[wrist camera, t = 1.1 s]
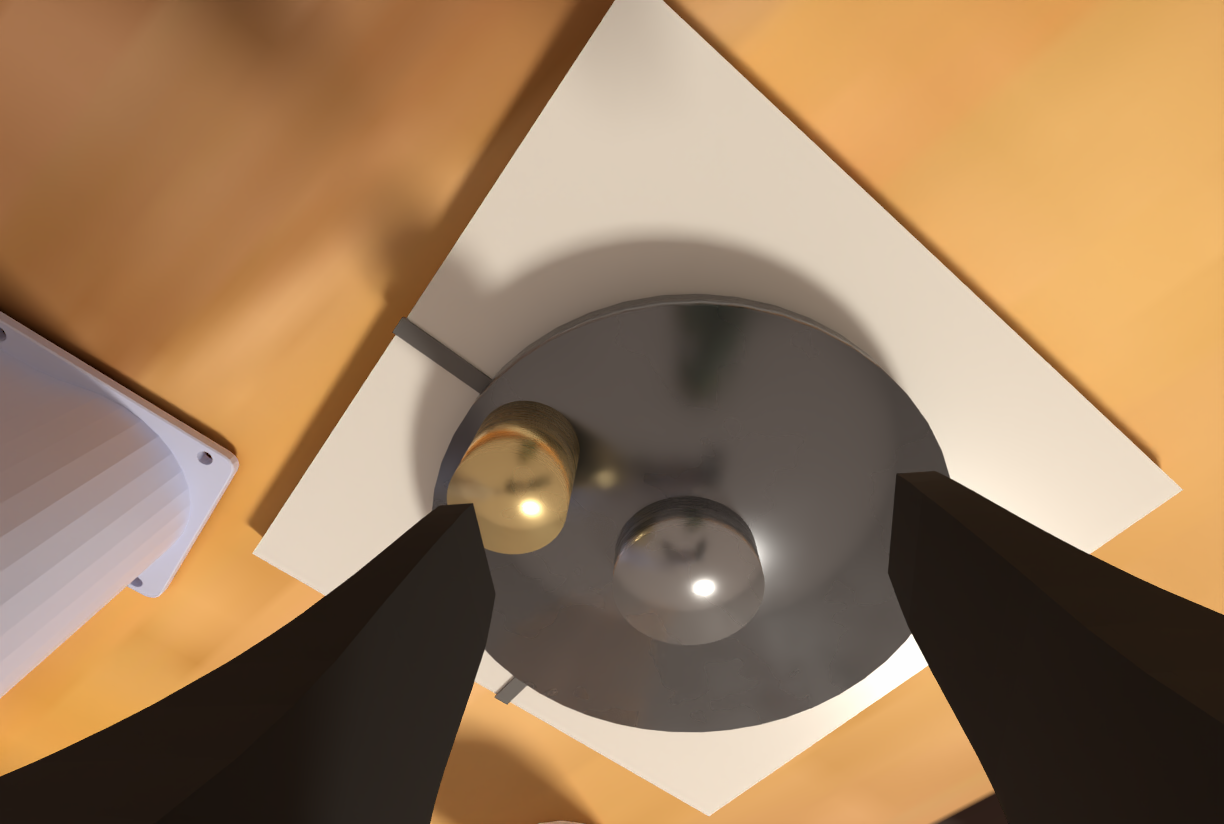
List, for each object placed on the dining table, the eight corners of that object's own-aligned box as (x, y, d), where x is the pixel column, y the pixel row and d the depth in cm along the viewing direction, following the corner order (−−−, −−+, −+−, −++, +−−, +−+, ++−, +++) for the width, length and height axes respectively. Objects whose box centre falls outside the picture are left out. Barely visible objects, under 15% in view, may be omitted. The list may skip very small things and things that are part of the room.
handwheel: (357, 554, 22) (295, 647, 18) (650, 167, 16) (650, 181, 12) (704, 762, 25) (713, 876, 21) (1047, 508, 19) (1144, 602, 16)
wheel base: (261, 540, 23) (242, 560, 22) (630, -24, 15) (629, -35, 14) (705, 799, 28) (708, 826, 27) (1163, 476, 20) (1192, 496, 19)
